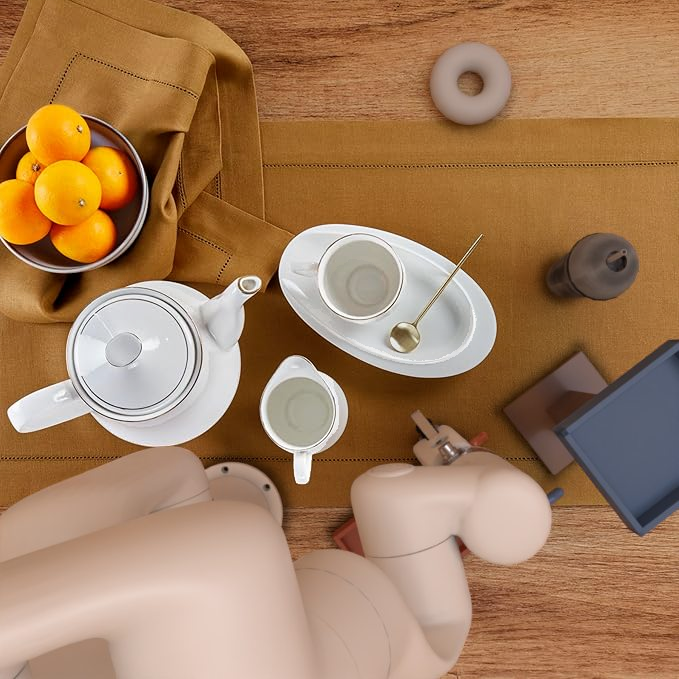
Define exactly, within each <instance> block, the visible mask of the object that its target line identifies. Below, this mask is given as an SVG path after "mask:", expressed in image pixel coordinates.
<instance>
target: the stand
mask: <svg viewBox="0 0 679 679" xmlns="http://www.w3.org/2000/svg"><path fill="white" fill-rule="evenodd" d="M609 385H610V384H608V382H607V381H606V380H605V378H604V377H603V376H602V375H601V374H600V372H599V371H598V370H597V369H596V367H595V366H594V364H593V363H592V362H591V361H590V359H589V358H588V356H586V354H585V353H584V351H583V350H577V351H576V352H575V353H573V354H572V355H571V356H569V357H568V358H567V359H566V360H564V361H563V362H562V363H561V364H559V365H558V366H557V367H555V368H554V369H553V370H551V371H550V372H548V373H547V374H546V375H545V376H544V377H542V378H541V379H539V380H538V381H536V383H534V384H533V385H531V387H529V388H527V390H525V391H524V392H523V393H521V394H520V395H519V396H518V397H516V398H515V399H513V400H512V401H510V403H508V404H507V405H506V406H504V407H502V409H501V411H502V413H503V414H504V415H505V416H506V418H507V419H508V420H509V421H510V423H511V424H512V425H513V426H514V428H515V429H516V431H517V432H518V433H519V435H520V436H521V437H522V439H524V441H525V442H526V444H527V445H528V446H529V447H530V449H531V450H532V452H534V454H535V455H536V457H537V458H538V459H539V460H540V462H541V463H542V464H543V465H544V467H545V469H546V470H547V471H548V472H549V474H550V475H551V476H553V477H554V476H556V475H558V474H559V473H560V472H561V471H563V470H564V469H565V468H566V467H567V466H569V465H570V464H572V463H573V462H574V461H575V459H574V458H573V457H572V455H571V454H570V453H569V451H568V450H567V449H566V448H565V446H564V445H563V444H562V442H561V441H560V440H559V438H558V437H557V436H556V435H555V433H554V432H553V431H552V428H554V427H555V426H556V425H558V424H559V423H560V422H562V421H563V420H564V419H566V418H567V417H568V416H569V415H571V414H572V413H573V412H575V411H576V410H577V409H579V408H580V407H581V406H582V405H584V404H585V403H586V402H588V401H589V400H590V399H592V398H593V397H594V396H596V395H597V394H598V393H599V392H601V391H602V390H603V389H605V388H606V387H607V386H609Z"/></svg>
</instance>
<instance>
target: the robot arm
mask: <svg viewBox="0 0 679 679" xmlns="http://www.w3.org/2000/svg"><path fill="white" fill-rule="evenodd" d="M409 417H410V418H411V419H412V421H413V422H414V423H415V431H416V432H417V434H420V435H419V436H418V437H417V439H418V440H417V442H416V443H415V444H414V445H413V446H412V447H413V448H412V452H413V454H414V455H415V457H416V458H417V460H418V461H419V462H420V464H421V465H413V464H411V463H406V462H405V463H404V462H393V463H391V462H390V463H384V464H380V465H376V466H373V467H371V468H369V469H367V470H366V471H365V472H363V473H362V474H360V475H358V476H357V477H356V478H355V479H354V481H353V482H352V484H351V489H350V503H351V508H352V512H353V517H354V516H355V520H356V524H357V528H358V532H359V536H360V540H361V544H362V548H363V551H364V554H365V558H364V557H362V556H360V555H357V554H355V553H353V552H349V551H345V550H341V549H340V548H339V549H338V548H321V549H318V550H314V551H310V552H307V553H306V554H304V555H302V556H300V557H299V558H297V559H296V560H294V561H293V558H292V555H291V550H290V547H289V544H288V540H287V536H286V534H285V531H284V528H283V527H282V526H283V521H284V506H283V502H282V497H281V494H280V492H279V491H278V487H277V486H276V485H275V483H274V482H273V481H272V479H271V478H270V477H269V476H268V475H267V474H266V473H265V472H263V471H262V470H260V469H259V468H257V467H255V466H253V465H251V464H248V463H244V462H240V461H225V462H220V463H216V464H214V465H210V466H208V467H207V468H205V467H204V465H203V463H202V461H201V459H200V458H199V457H198V456H197V455H196V454H195V453H194V452H193V451H191V450H190V449H187V448H185V447H181V446H175V445H164V446H163V445H162V446H154V447H149V448H145V449H141V450H137V451H135V452H132V453H129V454H127V455H123V456H121V457H118V458H116V459H114V460H111V461H109V462H107V463H104V464H102V465H99V466H96V467H93V468H91V469H89V470H86V471H83V472H81V473H79V474H76V475H74V476H71V477H69V478H66V479H63V480H61V481H59V482H56V483H53V484H51V485H49V486H47V487H44V488H42V489H40V490H38V491H35V492H34V493H32V494H29V495H27V496H26V497H23V498H22V499H20V500H18V501H17V502H15V503H13V504H12V505H11V506H9V507H8V508H7V509H5V510H4V511H3V512H2V513H1V514H0V679H440V678H442V677H443V676H445V675H446V674H447V673H449V672H450V671H451V670H452V669H453V667H454V666H455V665H456V663H457V662H458V660H459V658H460V656H461V653H462V651H463V649H464V646H465V644H466V641H467V639H468V636H469V633H470V630H471V626H472V620H473V603H472V595H471V592H470V586H469V583H468V578H467V575H466V570H465V566H464V562H463V558H461V554H460V550H459V547H458V543H457V539H456V536H458V537H460V538H461V540H462V541H463V543H464V544H465V545H466V547H467V548H468V549H469V550H470V551H471V552H470V553H472V554H473V555H475V556H476V557H477V558H479V559H481V560H483V561H485V562H488V563H489V564H493V565H497V566H514V565H518V564H521V563H524V562H526V561H528V560H529V559H531V558H533V557H534V556H535V555H537V554H538V553H539V552H540V551H541V550H542V548H543V547H544V545H545V544H546V542H547V541H548V539H549V537H550V533H551V530H552V525H553V524H552V523H553V512H552V506H550V503H549V500H548V498H547V496H546V495H547V494H546V492H545V490H544V489H543V487H542V486H541V485H540V484H539V483H538V482H537V481H536V480H535V479H534V478H533V477H531V476H530V475H529V474H527V473H525V472H524V471H523V470H521V469H519V468H518V467H516V466H515V465H514V464H512V463H510V462H509V461H507V460H506V459H505V458H503V457H501V456H500V455H499V454H497V453H495V452H494V451H493V450H490V449H488V448H486V447H481V446H479V447H476V446H471V445H470V444H469V443H468V442H469V441H468V440H467V439H465V438H464V437H463V436H462V435H460V434H459V433H458V432H457V431H456V430H455V429H454V428H452V427H451V426H450V425H446V424H441V425H439V424H438V423H435V424H434V425H433V421H432V420H431V418H428V417H426V416H425V415H424V414H423V413H422V412H421V410H420V409H417V410H415V411H414V412H413V413H411V414H409ZM225 468H227V470H225ZM267 485H268V487H266V486H267Z"/></svg>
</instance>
